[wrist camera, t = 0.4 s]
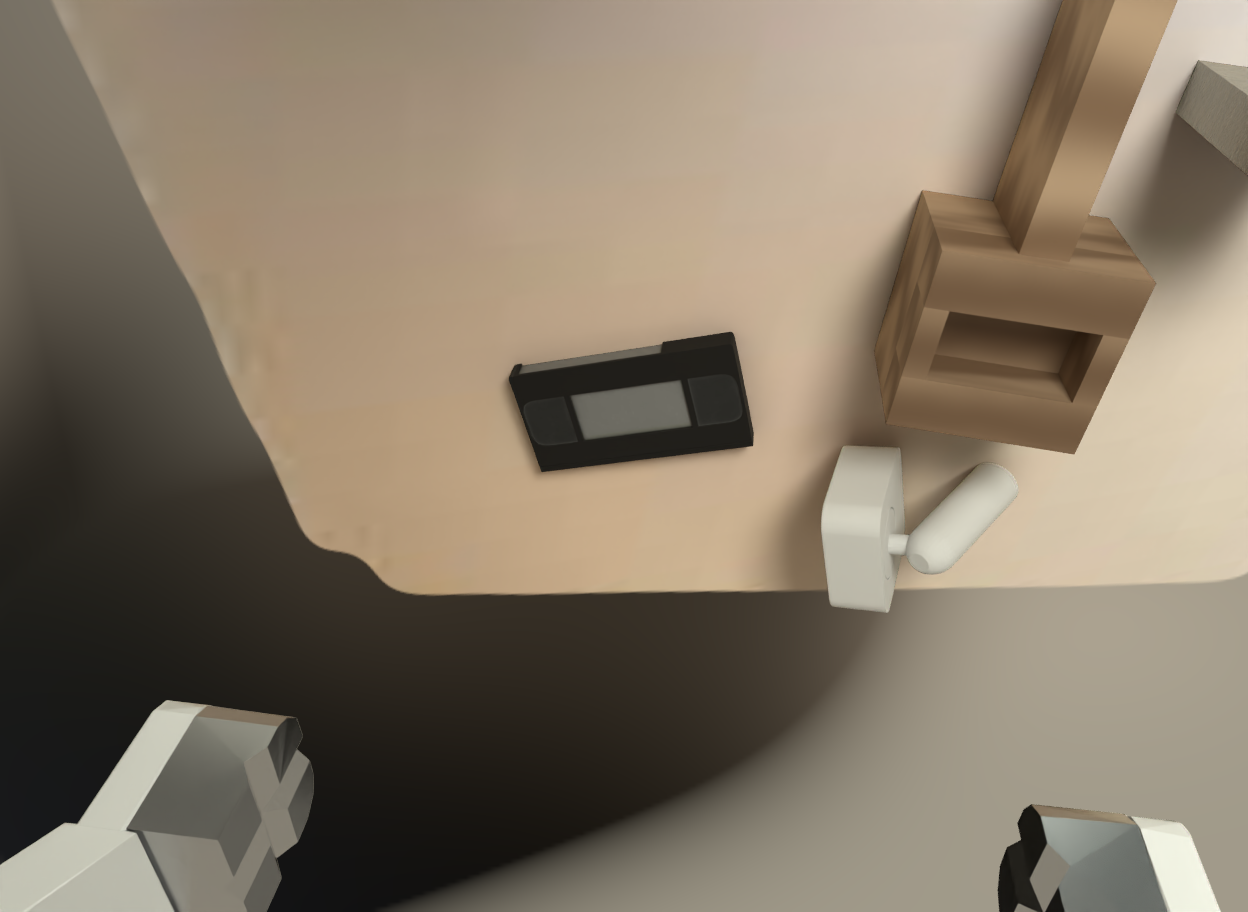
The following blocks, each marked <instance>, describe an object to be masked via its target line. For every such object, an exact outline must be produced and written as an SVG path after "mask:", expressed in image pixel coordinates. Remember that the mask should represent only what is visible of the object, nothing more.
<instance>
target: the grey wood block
mask: <svg viewBox="0 0 1248 912" xmlns="http://www.w3.org/2000/svg"><path fill="white" fill-rule="evenodd" d="M1176 113H1177V114H1178V115H1179V116H1180V117H1181V118H1182V119H1183V120H1185V121H1186V122H1187V123H1188V124H1189V125H1190V126H1191V127H1193V128H1194V129H1195V130H1196V131H1197V132H1198V133H1199V134H1201V135H1202V136H1203V137H1204V138H1205V139H1206V140H1207V141H1208V142H1210V143H1211V144H1212V145H1213V146H1214V147H1215V148H1216V149H1218V150H1219V151H1220V152H1221V153H1222V154H1223V155H1224V156H1226V157H1227V158H1228V159H1229V160H1230V161H1231V162H1232V163H1233V164H1235V165H1236V166H1237V167H1238V168H1239V169H1240V170H1241V171H1243V172H1244V173H1245V174H1246V175H1247V176H1248V67H1242V66H1235V65H1228V64H1221V63H1214V62H1207V61H1200V60H1198V62H1197V65H1196V67H1195V69H1194V71H1193V74H1192V76H1191V78H1190V81H1189V83H1188V85H1187V87H1186V90H1185V92H1184V94H1183V96H1182V99H1181V101H1180V103H1179V106H1178V108H1177V110H1176Z"/></svg>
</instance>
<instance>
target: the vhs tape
mask: <svg viewBox="0 0 1248 912" xmlns="http://www.w3.org/2000/svg"><path fill="white" fill-rule="evenodd" d="M509 381H510V384H511V387H512V390H513V393H514V395H515V398H516V401H517V404H518V407H519V409H520V412H521V415H522V418H523V421H524V423H525V426H526V429H527V432H528V435H529V437H530V440H531V443H532V446H533V449H534V452H535V454H536V457H537V460H538V463H539V466H540V469H541V472H546V471H554V470H562V469H570V468H578V467H586V466H594V465H602V464H611V463H619V462H627V461H635V460H643V459H651V458H659V457H668V456H676V455H684V454H692V453H700V452H708V451H716V450H725V449H733V448H741V447H749V446H753V436H754V432H753V427H752V422H751V417H750V411H749V406H748V401H747V396H746V391H745V386H744V381H743V376H742V371H741V366H740V361H739V356H738V351H737V346H736V342H735V337H734V334H733V333H732V332H727V333H720V334H713V335H707V336H700V337H694V338H687V339H681V340H674V341H668V342H663V344H662V345H656V346H649V347H643V348H636V349H629V350H623V351H616V352H610V353H603V354H597V355H590V356H583V357H577V358H570V359H564V360H557V361H550V362H544V363H537V364H531V365H524V366H522V364H517V365H515V366H514V368H513V370H512V373H511V375H510V377H509Z"/></svg>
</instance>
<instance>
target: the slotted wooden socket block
mask: <svg viewBox="0 0 1248 912" xmlns="http://www.w3.org/2000/svg"><path fill="white" fill-rule="evenodd" d="M1176 3H1177V0H1063V1H1062V4H1061V7H1060V10H1059V12H1058V15H1057V18H1056V21H1055V24H1054V27H1053V30H1052V33H1051V35H1050V38H1049V41H1048V44H1047V47H1046V50H1045V53H1044V56H1043V58H1042V61H1041V64H1040V67H1039V70H1038V73H1037V76H1036V79H1035V81H1034V84H1033V87H1032V90H1031V93H1030V96H1029V99H1028V102H1027V104H1026V107H1025V110H1024V113H1023V116H1022V119H1021V122H1020V125H1019V127H1018V130H1017V133H1016V136H1015V139H1014V142H1013V145H1012V148H1011V150H1010V153H1009V156H1008V159H1007V162H1006V165H1005V168H1004V171H1003V173H1002V176H1001V179H1000V182H999V185H998V188H997V191H996V194H995V196H994V199H993V201H989V200H983V199H976V198H969V197H963V196H956V195H950V194H943V193H936V192H930V191H923V190H922V193H921V196H920V200H919V203H918V206H917V210H916V213H915V216H914V220H913V223H912V226H911V230H910V233H909V236H908V240H907V243H906V246H905V250H904V253H903V256H902V260H901V263H900V266H899V270H898V273H897V276H896V280H895V283H894V286H893V290H892V293H891V296H890V300H889V303H888V306H887V310H886V313H885V316H884V320H883V323H882V326H881V330H880V333H879V336H878V340H877V343H876V346H875V350H874V352H875V359H876V365H877V371H878V377H879V383H880V390H881V396H882V402H883V408H884V415H885V421H886V424H889V425H896V426H902V427H908V428H914V429H920V430H927V431H933V432H939V433H945V434H951V435H958V436H964V437H970V438H976V439H982V440H989V441H995V442H1001V443H1007V444H1013V445H1020V446H1026V447H1032V448H1038V449H1044V450H1051V451H1057V452H1063V453H1069V454H1075V452H1076V450H1077V448H1078V446H1079V444H1080V441H1081V439H1082V437H1083V435H1084V433H1085V431H1086V429H1087V427H1088V425H1089V423H1090V421H1091V418H1092V416H1093V414H1094V412H1095V410H1096V408H1097V406H1098V404H1099V402H1100V400H1101V398H1102V395H1103V393H1104V391H1105V389H1106V387H1107V385H1108V383H1109V381H1110V379H1111V377H1112V375H1113V372H1114V370H1115V368H1116V366H1117V364H1118V362H1119V360H1120V358H1121V356H1122V354H1123V352H1124V349H1125V347H1126V345H1127V343H1128V341H1129V339H1130V337H1131V335H1132V333H1133V331H1134V329H1135V326H1136V324H1137V322H1138V320H1139V318H1140V316H1141V314H1142V312H1143V310H1144V308H1145V306H1146V303H1147V301H1148V299H1149V297H1150V295H1151V293H1152V291H1153V289H1154V287H1155V285H1156V283H1155V281H1154V280H1153V278H1152V277H1151V276H1150V274H1149V273H1148V272H1147V270H1146V269H1145V267H1144V266H1143V265H1142V263H1141V262H1140V261H1139V259H1138V258H1137V256H1136V255H1135V254H1134V252H1133V251H1132V249H1131V248H1130V247H1129V245H1128V244H1127V243H1126V241H1125V240H1124V238H1123V237H1122V236H1121V234H1120V233H1119V232H1118V230H1117V229H1116V227H1115V226H1114V225H1113V223H1112V222H1111V221H1110V219H1109V218H1102V217H1096V216H1089V213H1090V211H1091V208H1092V206H1093V203H1094V201H1095V199H1096V196H1097V194H1098V191H1099V189H1100V187H1101V184H1102V182H1103V179H1104V177H1105V174H1106V172H1107V170H1108V167H1109V165H1110V162H1111V160H1112V157H1113V155H1114V153H1115V150H1116V148H1117V145H1118V143H1119V141H1120V138H1121V136H1122V133H1123V131H1124V128H1125V126H1126V124H1127V121H1128V119H1129V116H1130V114H1131V112H1132V109H1133V107H1134V104H1135V102H1136V99H1137V97H1138V95H1139V92H1140V90H1141V87H1142V85H1143V82H1144V80H1145V78H1146V75H1147V73H1148V70H1149V68H1150V66H1151V63H1152V61H1153V58H1154V56H1155V53H1156V51H1157V49H1158V46H1159V44H1160V41H1161V39H1162V37H1163V34H1164V32H1165V29H1166V27H1167V24H1168V22H1169V20H1170V17H1171V15H1172V12H1173V10H1174V7H1175V5H1176Z"/></svg>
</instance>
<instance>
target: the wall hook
mask: <svg viewBox="0 0 1248 912" xmlns="http://www.w3.org/2000/svg"><path fill="white" fill-rule="evenodd" d="M1017 494H1018V485H1017V482H1016V480H1015V478H1014V477H1013V475H1012V474H1011V473H1010V472H1009V471H1008V470H1007V469H1005V468H1004V467H1002V466H1000V465H998V464H995V463H989V462H987V463H982V464H979V465H978V466H977V467H976V468H975V469H974V470H973V471H972V472H971V473H970V474H969V475H968V476H967V477H966V478H965V479H964V480H963V481H962V482H961V483H960V484H959V485H958V486H957V487H956V488H955V489H954V490H953V491H952V492H951V493H950V494H949V495H948V496H947V497H946V498H945V499H944V500H943V501H942V502H941V503H940V504H939V505H938V506H937V507H936V508H935V509H934V510H933V511H932V512H931V513H930V514H929V515H928V516H927V517H926V518H925V519H924V520H923V521H922V522H921V523H920V524H919V525H918V526H917V527H916V529H915V530H914V531H913V532H912V533H911V534H910V535H905V514H904V497H903V479H902V461H901V451H900V448H899V447H876V446H852V445H845V446H843V448H842V450H841V453H840V456H839V458H838V461H837V464H836V467H835V470H834V473H833V476H832V479H831V482H830V485H829V488H828V491H827V494H826V497H825V500H824V504H823V509H822V516H821V535H822V544H823V552H824V561H825V569H826V577H827V586H828V594H829V601H830V604H831V606H833V607H842V608H851V609H860V610H868V611H877V612H888V611H889V609H890V605H891V600H892V595H893V591H894V587H895V582H896V578H897V574H898V569H899V565H900V560H901V556H902V555H906V556H907V559H908V561H909V563H910V564H911V566H912V567H913V568H914V569H916V570H917V571H919V572H921V573H924V574H939V573H942V572H945V571H946V570H948V569H950V568H951V567H952V566H953V565H954V564H955V563H956V562H957V561H958V560H959V559H960V558H961V557H962V555H963V554H964V553H965V552H966V551H967V550H968V549H969V548H970V547H971V546H972V545H973V544H974V542H975V541H976V540H977V539H978V538H979V537H980V536H981V535H982V534H983V533H984V532H985V531H986V529H987V528H988V527H989V526H990V525H991V524H992V523H993V522H994V521H995V520H996V519H997V518H998V516H999V515H1000V514H1001V513H1002V512H1003V511H1004V510H1005V509H1006V508H1007V507H1008V506H1009V505H1010V503H1011V502H1012V501H1013V500H1014V499H1015V498H1016V497H1017Z"/></svg>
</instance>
